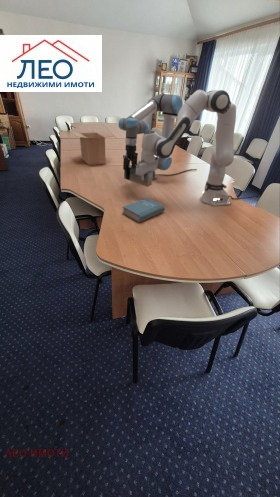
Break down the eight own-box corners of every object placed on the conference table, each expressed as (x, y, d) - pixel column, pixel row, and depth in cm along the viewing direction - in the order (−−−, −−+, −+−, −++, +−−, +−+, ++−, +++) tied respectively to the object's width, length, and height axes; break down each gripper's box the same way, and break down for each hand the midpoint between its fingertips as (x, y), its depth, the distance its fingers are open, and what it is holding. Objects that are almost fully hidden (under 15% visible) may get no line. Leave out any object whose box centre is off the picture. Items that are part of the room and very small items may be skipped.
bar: (124, 178, 165) (124, 165, 160) (128, 177, 169) (129, 164, 163) (147, 186, 155) (148, 173, 149) (151, 185, 158) (153, 171, 152)
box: (116, 165, 229) (116, 136, 213) (83, 168, 214) (80, 137, 198) (102, 154, 259) (101, 128, 243) (71, 156, 244) (68, 129, 228)
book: (146, 204, 158) (147, 197, 155) (163, 212, 149) (164, 206, 146) (122, 213, 145) (122, 206, 142) (139, 223, 136) (140, 216, 133)
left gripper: (126, 147, 143) (125, 182, 157) (143, 143, 155) (141, 176, 169) (117, 145, 147) (117, 179, 161) (135, 142, 159) (134, 174, 173)
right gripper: (141, 162, 139) (140, 183, 147) (160, 156, 152) (158, 176, 161) (134, 160, 142) (133, 181, 150) (152, 155, 155) (151, 174, 164)
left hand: (129, 178), depth 165 cm, fingers closed on bar, 5 cm apart
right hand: (146, 178), depth 156 cm, fingers closed on bar, 5 cm apart
